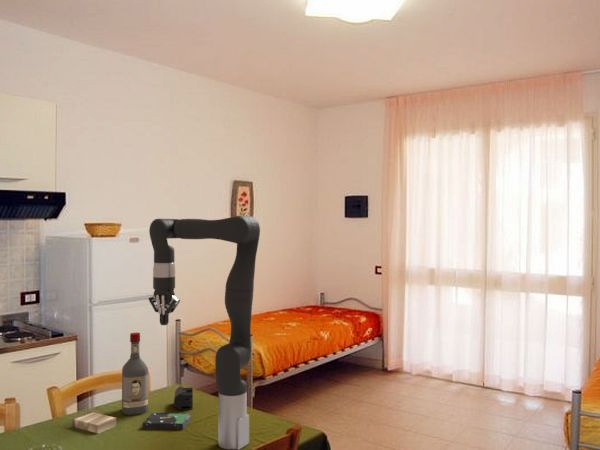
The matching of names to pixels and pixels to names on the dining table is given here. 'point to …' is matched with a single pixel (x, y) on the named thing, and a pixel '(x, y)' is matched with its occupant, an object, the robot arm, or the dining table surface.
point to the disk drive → (167, 421)
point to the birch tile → (94, 422)
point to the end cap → (183, 398)
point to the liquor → (134, 381)
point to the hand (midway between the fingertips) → (164, 324)
